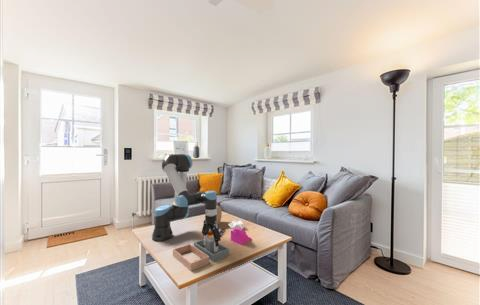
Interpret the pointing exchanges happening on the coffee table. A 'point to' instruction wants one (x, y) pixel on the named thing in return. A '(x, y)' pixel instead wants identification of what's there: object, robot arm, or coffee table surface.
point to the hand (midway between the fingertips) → (210, 247)
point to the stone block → (210, 245)
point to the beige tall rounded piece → (218, 215)
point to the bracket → (239, 236)
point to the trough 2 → (212, 257)
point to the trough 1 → (203, 256)
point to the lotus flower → (236, 224)
